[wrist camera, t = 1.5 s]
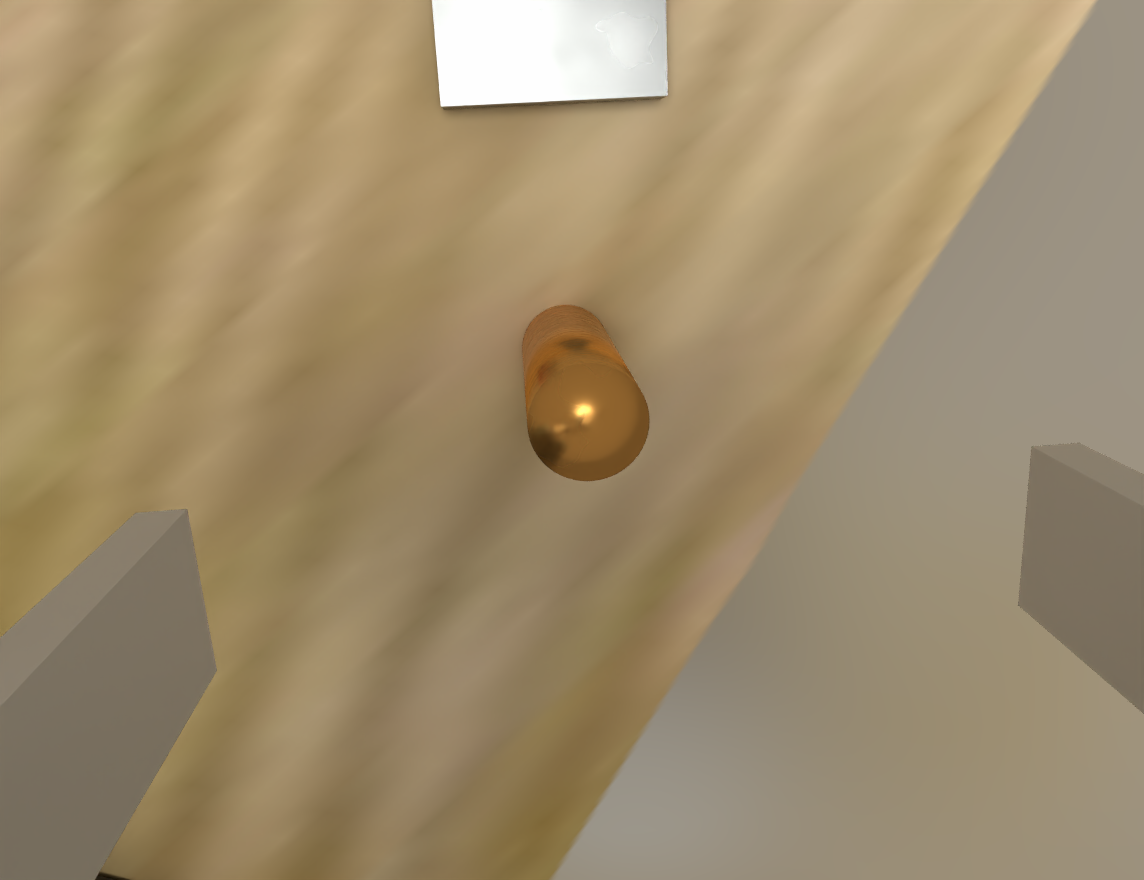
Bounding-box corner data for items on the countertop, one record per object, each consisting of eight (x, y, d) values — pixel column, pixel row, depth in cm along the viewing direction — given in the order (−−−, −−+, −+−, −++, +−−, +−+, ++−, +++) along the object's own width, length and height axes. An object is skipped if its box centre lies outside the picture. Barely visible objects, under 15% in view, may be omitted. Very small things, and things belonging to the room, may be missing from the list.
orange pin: (610, 387, 33) (651, 476, 24) (525, 392, 33) (531, 485, 23) (606, 302, 32) (647, 359, 23) (519, 307, 32) (523, 367, 23)
